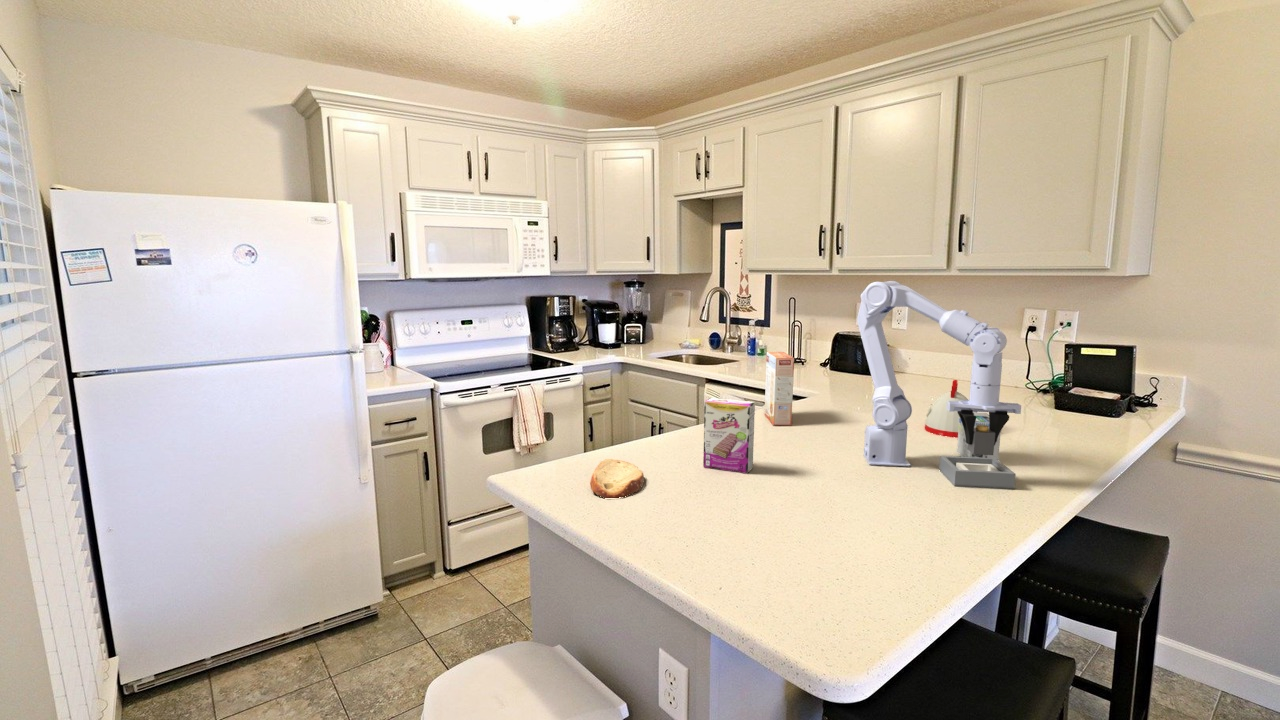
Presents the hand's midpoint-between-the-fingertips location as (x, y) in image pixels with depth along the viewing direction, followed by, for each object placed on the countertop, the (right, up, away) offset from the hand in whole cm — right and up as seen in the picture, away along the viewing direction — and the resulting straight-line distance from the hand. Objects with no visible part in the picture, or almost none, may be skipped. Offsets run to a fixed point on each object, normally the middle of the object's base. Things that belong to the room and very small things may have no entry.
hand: (980, 443), depth 137 cm
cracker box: (-33, 0, +55) cm, 64 cm away
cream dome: (+15, -2, +42) cm, 44 cm away
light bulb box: (+8, -6, +17) cm, 20 cm away
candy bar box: (-55, -7, +10) cm, 56 cm away
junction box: (0, -8, +2) cm, 8 cm away
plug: (0, -2, 0) cm, 2 cm away
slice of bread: (-82, -9, +2) cm, 82 cm away
